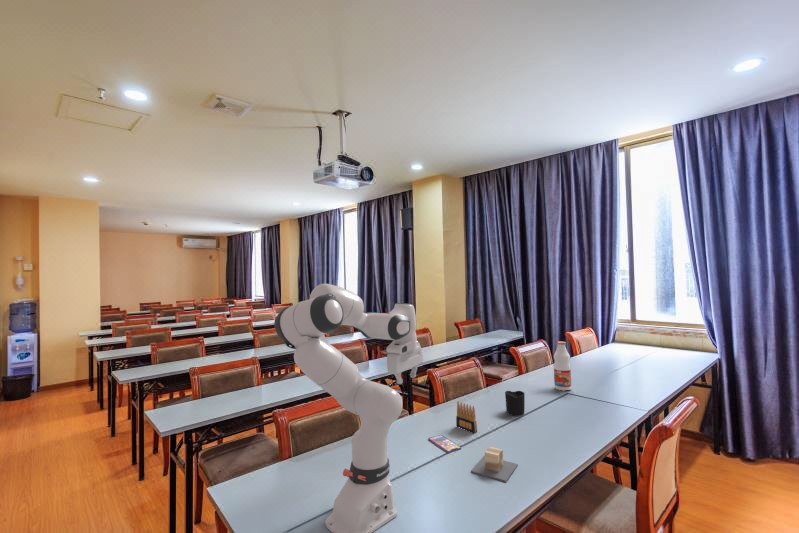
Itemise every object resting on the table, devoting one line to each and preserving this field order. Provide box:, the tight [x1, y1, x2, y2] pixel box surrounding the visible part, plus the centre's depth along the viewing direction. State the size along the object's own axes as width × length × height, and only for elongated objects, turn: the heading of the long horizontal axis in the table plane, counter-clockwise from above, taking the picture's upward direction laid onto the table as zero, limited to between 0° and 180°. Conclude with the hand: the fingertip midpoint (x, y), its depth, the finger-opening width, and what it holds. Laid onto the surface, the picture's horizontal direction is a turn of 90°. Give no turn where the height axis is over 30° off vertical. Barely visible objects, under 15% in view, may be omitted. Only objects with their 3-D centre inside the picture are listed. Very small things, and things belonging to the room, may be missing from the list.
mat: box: [470, 455, 519, 483], centre depth 140 cm, size 13×13×1 cm
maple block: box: [484, 446, 504, 472], centre depth 140 cm, size 5×5×6 cm
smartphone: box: [428, 434, 462, 454], centre depth 161 cm, size 1×7×15 cm
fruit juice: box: [553, 340, 573, 391], centre depth 229 cm, size 9×9×28 cm
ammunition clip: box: [455, 400, 478, 434], centre depth 175 cm, size 11×2×12 cm, turn 41°
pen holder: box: [504, 390, 526, 416], centre depth 194 cm, size 9×9×10 cm
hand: (406, 380), depth 148 cm, fingers open, 8 cm apart
